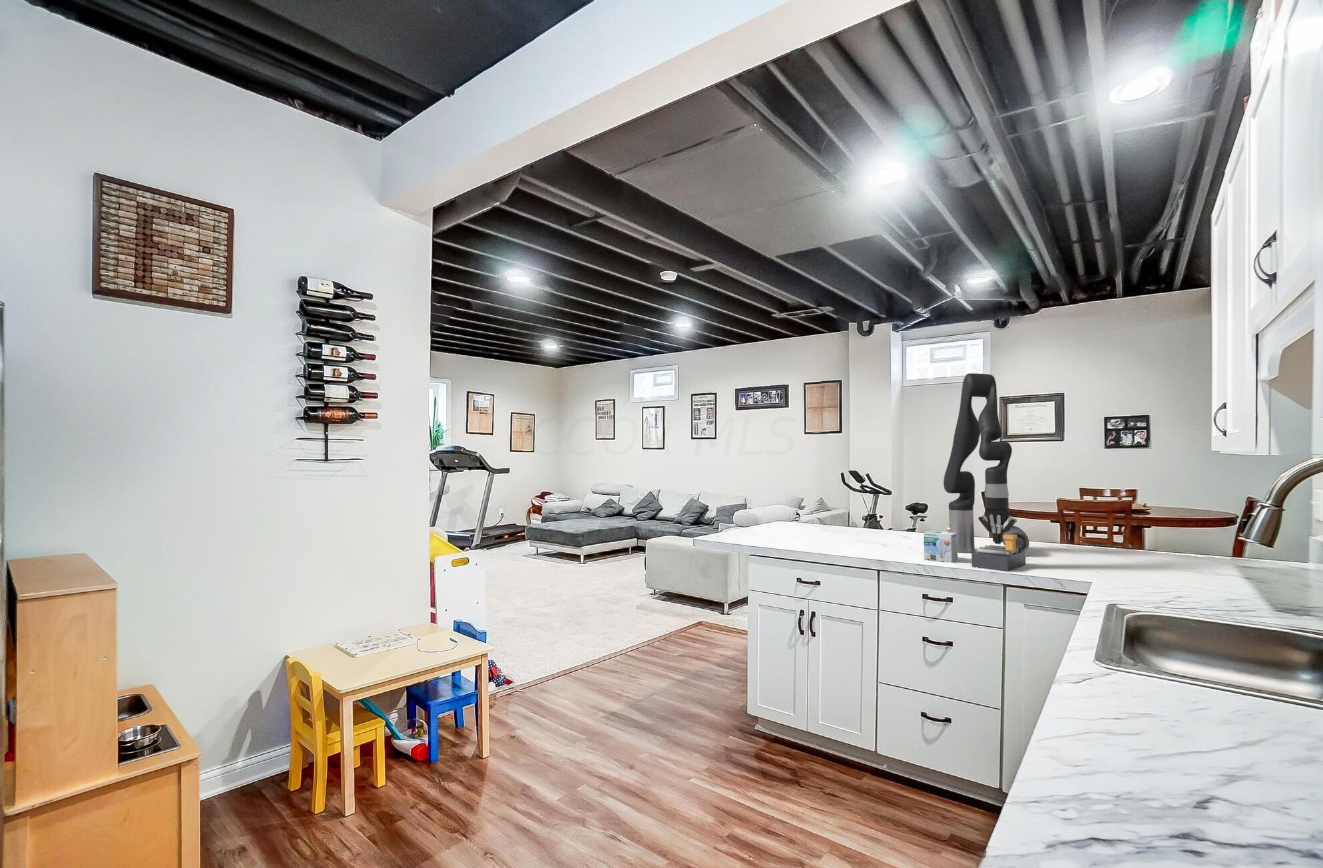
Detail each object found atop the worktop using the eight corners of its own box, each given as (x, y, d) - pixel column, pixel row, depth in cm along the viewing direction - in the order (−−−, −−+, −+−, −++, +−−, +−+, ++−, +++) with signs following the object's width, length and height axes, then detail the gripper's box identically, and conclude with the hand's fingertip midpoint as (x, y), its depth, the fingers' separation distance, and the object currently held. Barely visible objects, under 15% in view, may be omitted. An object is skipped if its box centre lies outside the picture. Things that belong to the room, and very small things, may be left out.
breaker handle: (1003, 552, 219) (1003, 535, 219) (1008, 551, 221) (1007, 534, 221) (1013, 553, 216) (1012, 535, 216) (1017, 552, 219) (1017, 534, 219)
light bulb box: (923, 559, 236) (922, 532, 237) (929, 557, 241) (928, 530, 242) (952, 562, 229) (951, 534, 229) (958, 560, 234) (957, 532, 234)
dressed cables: (976, 552, 222) (976, 548, 222) (990, 548, 230) (990, 544, 230) (1008, 556, 214) (1008, 552, 214) (1022, 551, 222) (1021, 547, 222)
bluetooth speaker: (1000, 547, 262) (999, 524, 263) (1025, 548, 258) (1024, 524, 259) (1003, 555, 242) (1003, 530, 242) (1031, 557, 238) (1030, 531, 238)
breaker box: (971, 566, 221) (971, 548, 221) (990, 560, 232) (990, 543, 232) (1007, 571, 212) (1007, 552, 212) (1025, 564, 223) (1025, 547, 223)
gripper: (973, 495, 225) (974, 542, 224) (1012, 497, 215) (1013, 546, 214) (981, 494, 230) (983, 540, 229) (1020, 496, 220) (1021, 544, 219)
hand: (997, 543), depth 222 cm, fingers closed
